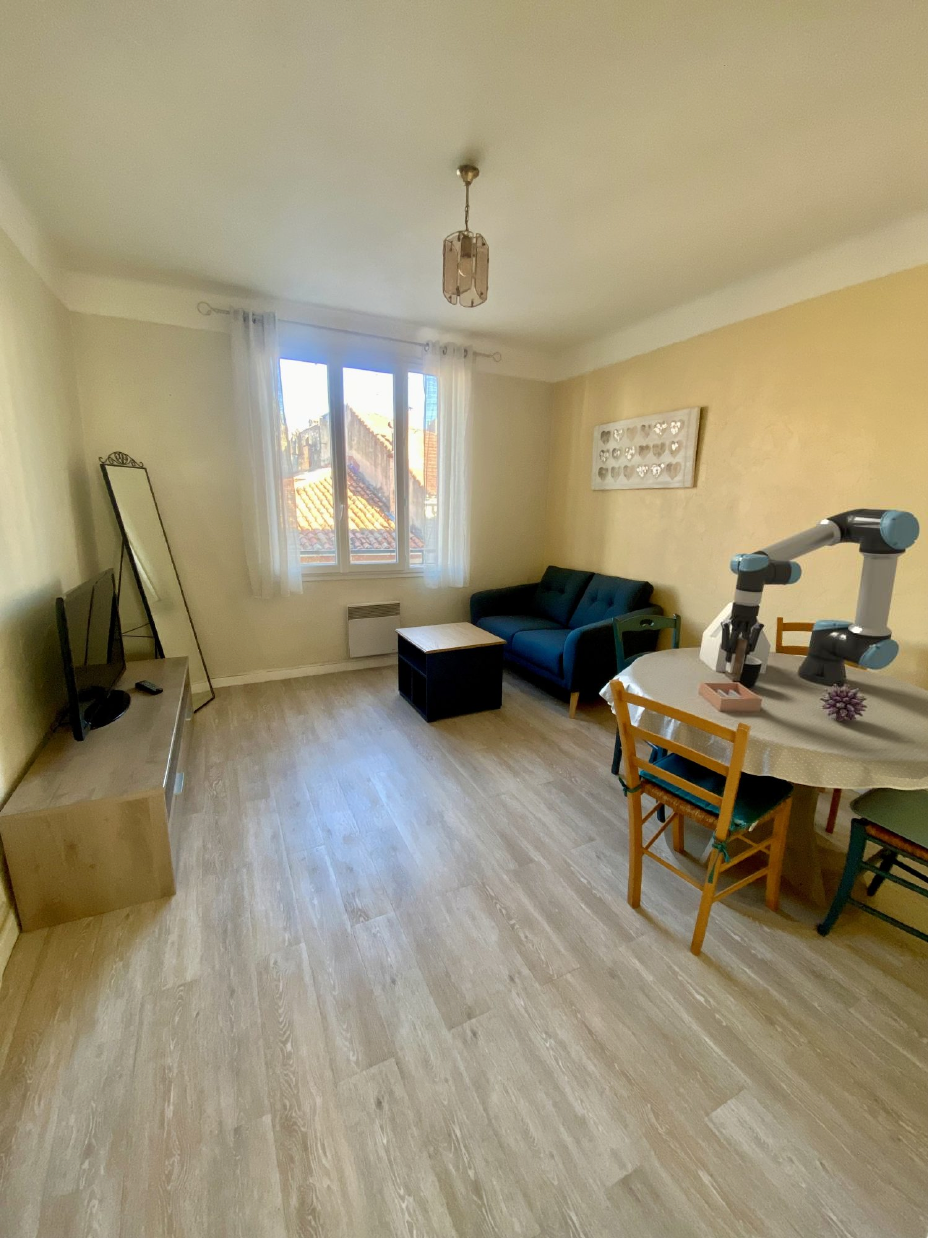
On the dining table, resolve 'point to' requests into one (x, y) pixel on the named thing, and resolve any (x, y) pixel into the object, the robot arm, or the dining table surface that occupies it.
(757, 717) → the dining table surface
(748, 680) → the mug
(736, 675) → the brown tall bar
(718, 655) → the white house-shaped block
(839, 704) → the purple spiky ball
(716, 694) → the pink shallow tray
